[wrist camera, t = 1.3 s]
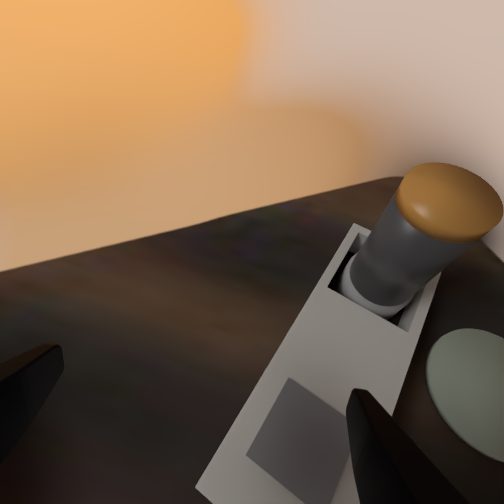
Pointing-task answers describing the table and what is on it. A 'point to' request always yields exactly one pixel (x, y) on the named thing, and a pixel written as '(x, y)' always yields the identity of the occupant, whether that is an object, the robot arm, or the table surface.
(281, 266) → the table surface
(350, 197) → the table surface
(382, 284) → the plug
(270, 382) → the power strip
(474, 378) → the rubber mat
